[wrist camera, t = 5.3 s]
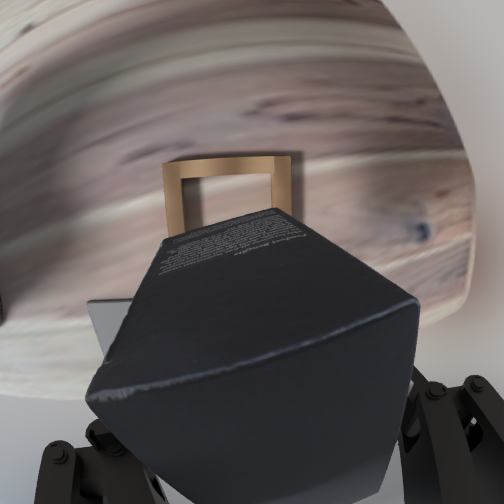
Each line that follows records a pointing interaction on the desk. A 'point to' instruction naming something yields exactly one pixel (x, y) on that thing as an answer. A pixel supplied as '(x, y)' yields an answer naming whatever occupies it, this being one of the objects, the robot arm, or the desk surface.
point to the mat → (107, 319)
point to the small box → (260, 366)
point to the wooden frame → (223, 166)
